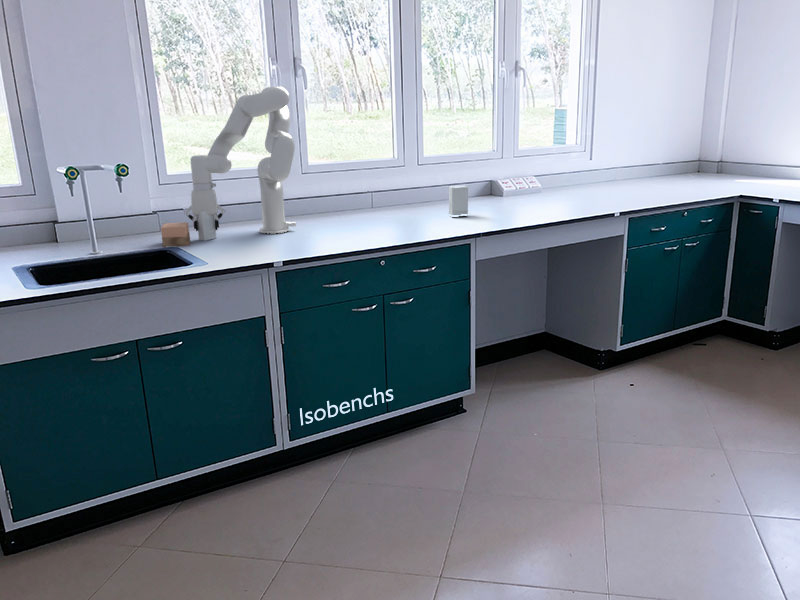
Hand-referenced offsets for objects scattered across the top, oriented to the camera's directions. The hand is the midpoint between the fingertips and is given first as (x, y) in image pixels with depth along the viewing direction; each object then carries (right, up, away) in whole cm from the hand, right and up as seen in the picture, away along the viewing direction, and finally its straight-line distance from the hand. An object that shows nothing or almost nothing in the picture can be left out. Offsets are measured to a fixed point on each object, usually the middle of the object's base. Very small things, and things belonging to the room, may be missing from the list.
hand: (206, 229), depth 269 cm
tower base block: (-10, -7, -7) cm, 14 cm away
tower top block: (-10, -3, -8) cm, 13 cm away
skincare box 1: (0, -4, +1) cm, 4 cm away
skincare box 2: (+108, +11, +48) cm, 118 cm away
